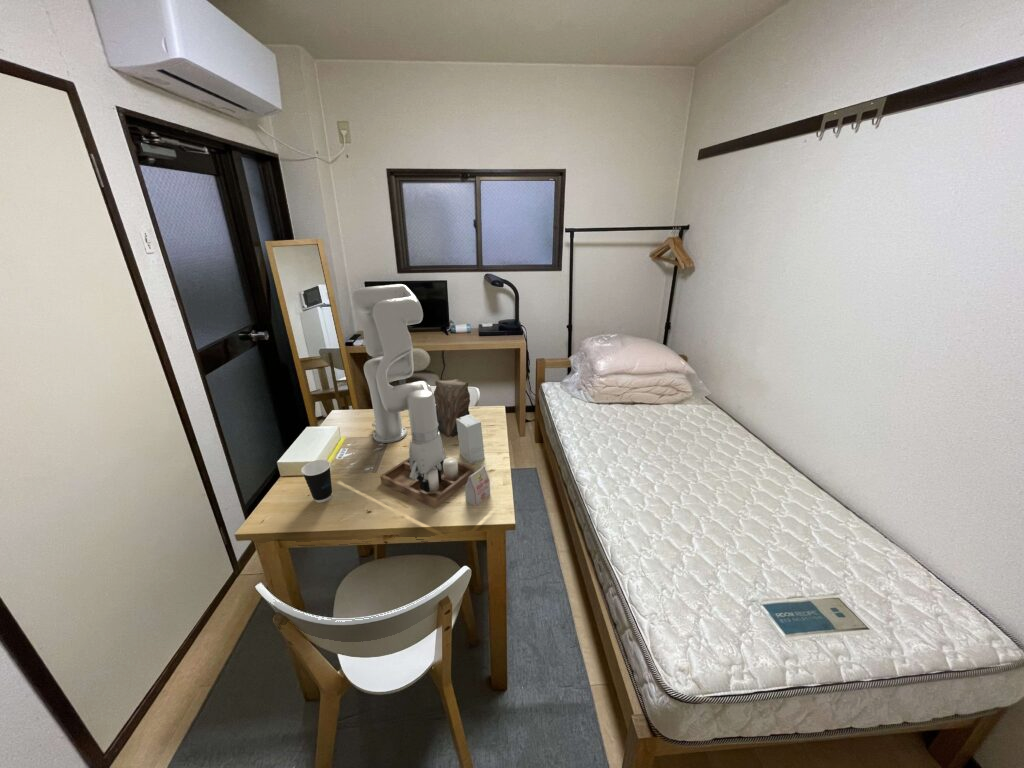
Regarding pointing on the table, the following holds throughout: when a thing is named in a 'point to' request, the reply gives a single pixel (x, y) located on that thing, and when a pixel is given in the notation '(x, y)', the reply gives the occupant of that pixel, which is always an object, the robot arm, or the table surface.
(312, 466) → the dixie cup
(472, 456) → the skincare box
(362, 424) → the table surface
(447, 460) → the egg right
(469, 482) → the milk carton
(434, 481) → the egg
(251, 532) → the table surface
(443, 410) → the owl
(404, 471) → the rack
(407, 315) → the robot arm
